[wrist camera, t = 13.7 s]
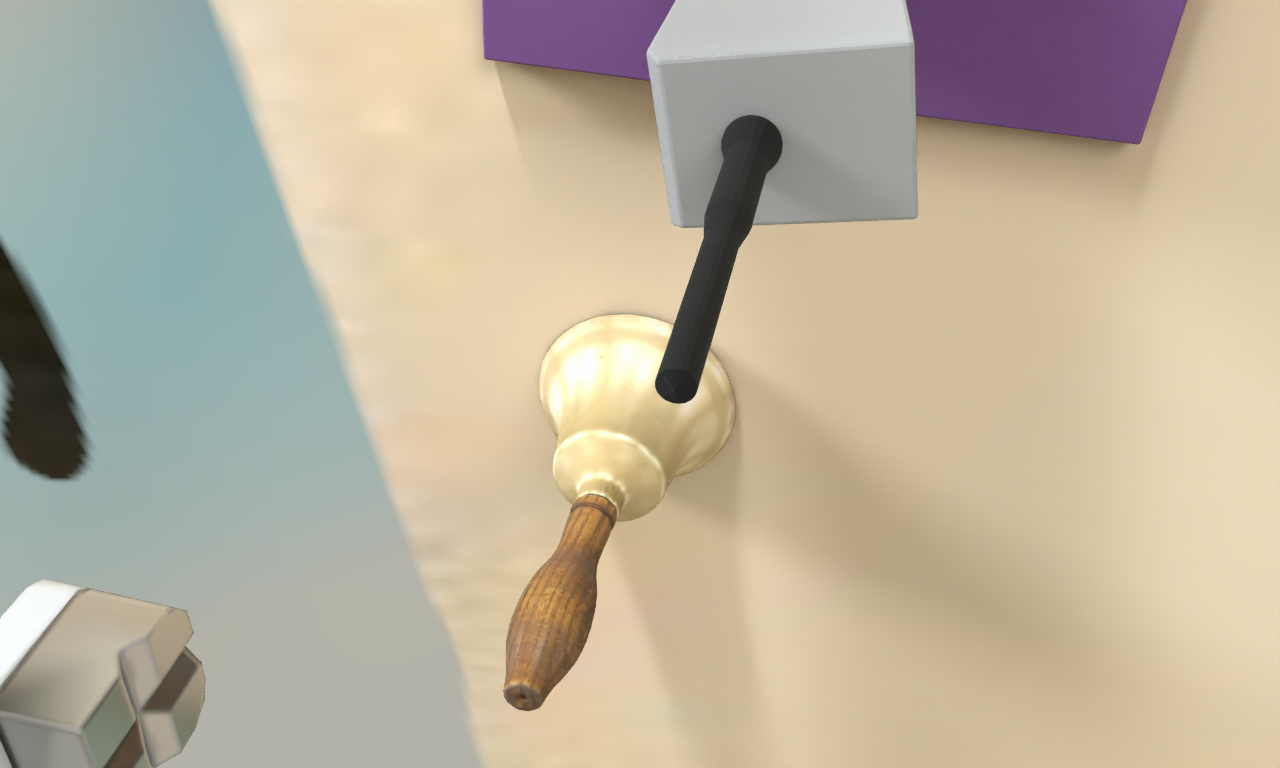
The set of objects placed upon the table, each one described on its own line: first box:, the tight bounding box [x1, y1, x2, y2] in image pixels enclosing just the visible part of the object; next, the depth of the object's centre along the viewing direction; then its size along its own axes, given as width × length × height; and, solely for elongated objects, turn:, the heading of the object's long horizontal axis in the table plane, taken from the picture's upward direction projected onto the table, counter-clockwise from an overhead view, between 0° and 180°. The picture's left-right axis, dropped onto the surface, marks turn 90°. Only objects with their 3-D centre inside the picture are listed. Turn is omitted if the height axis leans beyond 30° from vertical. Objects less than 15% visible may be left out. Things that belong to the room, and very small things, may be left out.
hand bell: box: [503, 314, 736, 711], centre depth 43 cm, size 8×8×16 cm
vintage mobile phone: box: [646, 0, 918, 404], centre depth 26 cm, size 4×5×25 cm
